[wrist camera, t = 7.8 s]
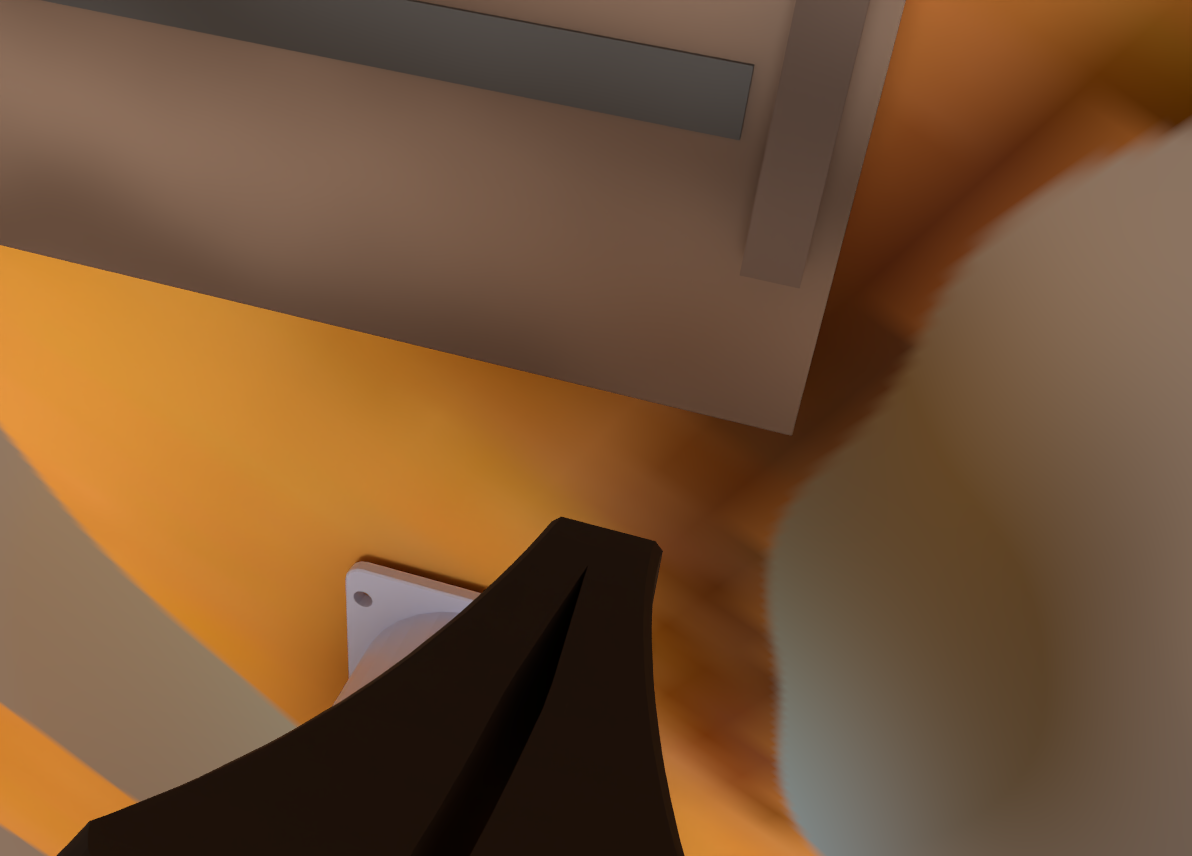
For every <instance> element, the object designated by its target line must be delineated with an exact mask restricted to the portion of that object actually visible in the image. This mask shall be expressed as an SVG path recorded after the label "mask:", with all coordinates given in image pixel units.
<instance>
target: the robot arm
mask: <svg viewBox="0 0 1192 856" xmlns="http://www.w3.org/2000/svg"><path fill="white" fill-rule="evenodd" d="M662 552H663V551H662V549H661V548H660V547H659V545H658V544H657V543H656V541H652V540H648V539H645V538H641V537H637V536H633V535H629V534H625V533H622V532H618V531H614V530H610V529H606V528H602V527H599V526H595V525H591V524H587V523H583V522H579V521H576V520H572V519H568V518H564V517H560V518H558V519H556V520H554V521H552V522H551V523H550V524H549V525H548V526H547V528H546V529H545V530H544V531H543V532H542V533H541V534H540V536H539V537H538V538H537V539H536V540H535V541H534V542H533V543H532V544H531V545H530V546H529V547H528V549H527V550H526V551H525V552H524V553H523V554H522V555H521V556H520V557H519V558H518V559H517V560H516V561H515V562H514V563H513V564H512V565H511V566H510V567H509V568H508V569H507V570H506V571H505V572H504V573H503V574H502V575H501V576H500V577H499V578H498V579H496V580H495V581H494V582H493V583H492V584H491V585H490V586H489V587H488V588H487V589H486V590H484V591H483V592H482V593H479V592H475V591H471V590H468V589H464V588H461V587H457V586H453V585H450V584H446V583H442V582H439V581H435V580H432V579H428V578H424V577H421V576H417V575H413V574H410V573H406V572H403V571H399V570H395V569H392V568H388V567H384V566H381V565H377V564H374V563H370V562H363V561H361V562H357V563H355V564H354V565H353V566H352V567H351V568H350V570H349V571H348V573H347V575H346V609H347V639H348V669H349V680H348V681H347V683H346V684H345V686H344V688H343V689H342V691H341V693H340V694H339V696H338V697H337V699H336V701H335V702H334V704H333V706H332V707H331V708H329V709H327V710H325V711H324V712H322V713H320V714H319V715H317V716H315V717H314V718H312V719H310V720H309V721H307V722H305V723H304V724H302V725H300V726H299V727H297V728H295V729H294V730H292V731H290V732H288V733H286V734H285V735H283V736H281V737H279V738H277V739H276V740H274V741H272V742H270V743H268V744H266V745H264V746H262V747H260V748H258V749H256V750H254V751H252V752H250V753H248V754H246V755H244V756H242V757H240V758H238V759H236V760H234V761H231V762H229V763H227V764H225V765H223V766H221V767H219V768H217V769H215V770H213V771H211V772H209V773H207V774H205V775H203V776H201V777H199V778H196V779H194V780H192V781H190V782H187V783H185V784H183V785H181V786H179V787H176V788H173V789H171V790H168V791H166V792H163V793H161V794H159V795H156V796H153V797H151V798H148V799H146V800H144V801H141V802H139V803H136V804H134V805H131V806H129V807H126V808H124V809H121V810H119V811H116V812H114V813H111V814H108V815H106V816H103V817H100V818H97V819H94V820H92V821H89V822H88V823H87V825H86V826H85V827H84V828H83V829H82V830H81V831H80V832H79V833H78V834H77V835H76V836H75V837H74V838H73V840H72V841H71V842H70V843H69V844H68V845H67V846H66V847H65V848H64V849H63V850H62V851H61V852H60V853H59V854H58V855H57V856H684V853H683V849H682V846H681V842H680V838H679V834H678V829H677V825H676V821H675V816H674V812H673V808H672V803H671V799H670V793H669V788H668V783H667V778H666V773H665V768H664V762H663V756H662V749H661V743H660V736H659V728H658V720H657V712H656V703H655V692H654V681H653V660H652V604H653V599H654V593H655V588H656V583H657V578H658V573H659V567H660V562H661V557H662ZM363 592H365V593H367V594H368V595H369V596H368V595H366V594H364V593H363Z"/></svg>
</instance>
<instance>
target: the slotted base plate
mask: <svg viewBox="0 0 1192 856" xmlns="http://www.w3.org/2000/svg"><path fill="white" fill-rule="evenodd" d="M905 1H906V0H0V245H3V246H7V247H11V248H15V249H19V250H23V251H28V252H32V253H36V254H40V255H44V256H48V257H52V258H57V259H61V260H65V261H69V262H73V263H77V264H82V265H86V266H90V267H94V268H98V269H102V270H106V271H111V272H115V273H119V274H123V275H127V276H131V277H135V278H140V279H144V280H148V281H152V282H156V283H160V284H164V285H169V286H173V287H177V288H181V289H185V290H189V291H194V292H198V293H202V294H206V295H210V296H214V297H218V298H223V299H227V300H231V301H235V302H239V303H243V304H247V305H252V306H256V307H260V308H264V309H268V310H272V311H276V312H281V313H285V314H289V315H293V316H297V317H301V318H305V319H310V320H314V321H318V322H322V323H326V324H330V325H335V326H339V327H343V328H347V329H351V330H355V331H359V332H364V333H368V334H372V335H376V336H380V337H384V338H388V339H393V340H397V341H401V342H405V343H409V344H413V345H417V346H422V347H426V348H430V349H434V350H438V351H442V352H447V353H451V354H455V355H459V356H463V357H467V358H471V359H476V360H480V361H484V362H488V363H492V364H496V365H500V366H505V367H509V368H513V369H517V370H521V371H525V372H529V373H534V374H538V375H542V376H546V377H550V378H554V379H559V380H563V381H567V382H571V383H575V384H579V385H583V386H588V387H592V388H596V389H600V390H604V391H608V392H612V393H617V394H621V395H625V396H629V397H633V398H637V399H641V400H646V401H650V402H654V403H658V404H662V405H666V406H670V407H675V408H679V409H683V410H687V411H691V412H695V413H700V414H704V415H708V416H712V417H716V418H720V419H724V420H729V421H733V422H737V423H741V424H745V425H749V426H753V427H758V428H762V429H766V430H770V431H774V432H778V433H782V434H787V435H791V436H792V433H793V429H794V425H795V421H796V418H797V414H798V410H799V406H800V402H801V398H802V395H803V391H804V387H805V383H806V379H807V375H808V372H809V368H810V364H811V360H812V356H813V353H814V349H815V345H816V341H817V337H818V333H819V330H820V326H821V322H822V318H823V314H824V311H825V307H826V303H827V299H828V295H829V291H830V288H831V284H832V280H833V276H834V272H835V268H836V265H837V261H838V257H839V253H840V249H841V246H842V242H843V238H844V234H845V230H846V226H847V223H848V219H849V215H850V211H851V207H852V204H853V200H854V196H855V192H856V188H857V184H858V181H859V177H860V173H861V169H862V165H863V161H864V158H865V154H866V150H867V146H868V142H869V139H870V135H871V131H872V127H873V123H874V119H875V116H876V112H877V108H878V104H879V100H880V97H881V93H882V89H883V85H884V81H885V77H886V74H887V70H888V66H889V62H890V58H891V54H892V51H893V47H894V43H895V39H896V35H897V32H898V28H899V24H900V20H901V16H902V12H903V9H904V5H905Z"/></svg>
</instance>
